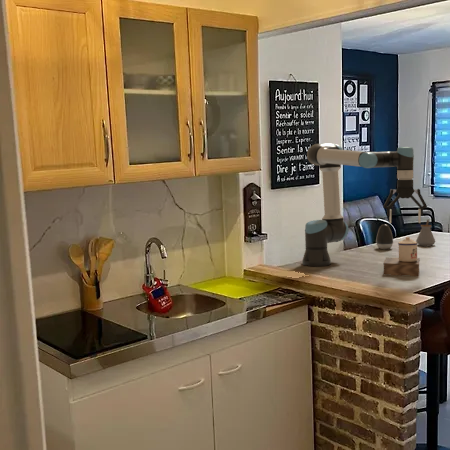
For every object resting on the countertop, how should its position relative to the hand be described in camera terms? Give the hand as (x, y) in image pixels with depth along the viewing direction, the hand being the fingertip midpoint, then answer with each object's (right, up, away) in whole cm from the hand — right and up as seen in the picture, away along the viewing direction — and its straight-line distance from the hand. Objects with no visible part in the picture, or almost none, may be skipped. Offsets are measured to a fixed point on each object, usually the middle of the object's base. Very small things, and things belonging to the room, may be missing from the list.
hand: (404, 222), depth 286 cm
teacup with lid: (+3, -19, +3) cm, 19 cm away
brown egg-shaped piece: (+11, -16, +76) cm, 78 cm away
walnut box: (0, -25, +3) cm, 25 cm away
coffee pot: (+41, -14, +88) cm, 98 cm away
